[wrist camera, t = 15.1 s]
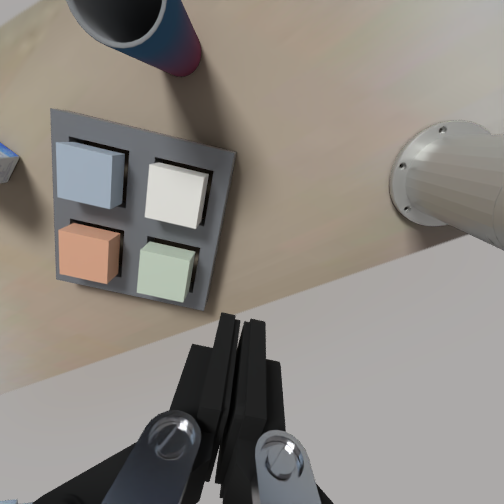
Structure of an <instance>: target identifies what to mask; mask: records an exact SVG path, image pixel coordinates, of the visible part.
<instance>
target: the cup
mask: <svg viewBox="0 0 504 504" xmlns="http://www.w3.org/2000/svg"><path fill="white" fill-rule="evenodd" d="M66 1H67V4H68V6H69V8H70V11H71V12H72V14H73V16H74V17H75V19H76V20H77V22H78V23H79V24H80V26H81V27H82V28H83V29H84V30H85V31H86V32H87V33H88V34H89V35H90V36H91V37H93V38H94V39H95V40H97V41H99V42H100V43H102V44H104V45H106V46H108V47H111V48H113V49H115V50H117V51H120V52H122V53H124V54H127V55H129V56H131V57H133V58H136V59H138V60H140V61H142V62H145V63H147V64H149V65H152V66H154V67H156V68H158V69H161V70H163V71H165V72H167V73H170V74H172V75H175V76H180V77H182V76H187V75H189V74H191V73H192V72H193V71H194V70H195V69H196V68H197V66H198V64H199V62H200V58H201V46H200V42H199V39H198V37H197V35H196V33H195V30H194V28H193V26H192V24H191V22H190V19H189V17H188V15H187V13H186V10H185V8H184V6H183V4H182V2H181V0H66Z"/></svg>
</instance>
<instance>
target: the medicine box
mask: <svg viewBox="0 0 504 504" xmlns="http://www.w3.org/2000/svg"><path fill="white" fill-rule="evenodd" d="M18 160H19V156H18V155H17V154H15V153H14V152H13V151H11V150H10V149H8V148H7V147H6V146H4V145H3V144H2V143H0V184H1V183H6V182H8V180H9V178H10V176H11V174H12V172H13V170H14V168H15V166H16V164H17V162H18Z"/></svg>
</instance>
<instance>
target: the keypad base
mask: <svg viewBox="0 0 504 504" xmlns="http://www.w3.org/2000/svg"><path fill="white" fill-rule="evenodd" d="M50 112H51V141H52V170H53V199H54V228H55V257H56V279H57V280H62V281H67V282H71V283H76V284H81V285H85V286H90V287H95V288H99V289H104V290H109V291H113V292H118V293H123V294H127V295H132V296H137V297H141V298H146V299H151V300H155V301H160V302H165V303H169V304H174V305H179V306H183V307H188V308H193V309H197V310H202V311H204V309H205V306H206V303H207V300H208V295H209V290H210V285H211V280H212V275H213V270H214V265H215V260H216V255H217V249H218V244H219V239H220V234H221V229H222V224H223V219H224V214H225V209H226V204H227V199H228V194H229V189H230V184H231V179H232V174H233V169H234V164H235V159H236V154H237V152H235V151H231V150H227V149H223V148H218V147H214V146H210V145H206V144H202V143H198V142H194V141H190V140H186V139H182V138H178V137H173V136H169V135H165V134H161V133H157V132H153V131H149V130H145V129H141V128H137V127H133V126H129V125H124V124H120V123H116V122H112V121H108V120H104V119H100V118H96V117H92V116H88V115H84V114H79V113H75V112H71V111H67V110H60V109H52V108H50ZM84 140H87V141H91V142H95V143H99V144H103V145H108V146H112V147H116V148H120V149H124V150H128V151H129V165H128V181H127V197H126V201H124V200H122V204H120V205H118V206H116V207H114V208H112V209H107V208H102V207H98V206H94V205H89V204H85V203H81V202H76V201H72V200H67V199H63V198H59V197H57V166H56V142H76V143H80V144H84ZM163 159H166V160H170V161H174V162H178V163H183V164H187V165H191V166H195V167H199V168H203V169H208V170H212V171H214V173H213V178H212V184H211V190H210V196H209V201H208V207H207V213H206V219H202V218H201V222H200V224H199V225H198V226H197V228H196V229H194V228H190V227H185V226H181V225H177V224H172V223H168V222H164V221H159V220H155V219H150V218H146V217H145V208H146V197H147V186H148V175H149V164H154V163H158V162H160V163H163ZM83 221H84V222H88V223H93V224H97V225H101V226H106V227H110V228H115V229H119V230H124V244H123V260H122V266H118V274H117V275H116V276H115V277H114V278H113V279H112V280H111V281H110V282H109V283H108V284H104V283H99V282H95V281H90V280H86V279H81V278H76V277H72V276H67V275H62V274H60V269H59V235H58V230H59V229H61V228H64V227H66V226H68V225H70V224H73V223H76V224H81V225H83ZM154 238H159V239H164V240H168V241H172V242H177V243H181V244H186V245H190V246H195V247H199V248H200V253H199V259H198V265H197V271H196V276H195V282H190V287H189V292H188V294H187V296H186V298H185V300H184V302H178V301H173V300H169V299H164V298H159V297H155V296H150V295H146V294H141V293H137V283H138V271H139V260H140V250H141V249H142V248H143V247H144V246H145V245H146V244H147V243H148V242H154Z"/></svg>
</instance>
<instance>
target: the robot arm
mask: <svg viewBox="0 0 504 504" xmlns="http://www.w3.org/2000/svg"><path fill="white" fill-rule="evenodd" d="M439 129H440V132H439ZM400 164H401V167H400V168H399V165H400ZM389 188H390V195H391V198H392V201H393V204H394V205H395V207H396V208H397V210H398V211H399V212H400V213H401V214H402V215H403V216H404V217H406V218H407V219H409V220H410V221H413V222H415V223H417V224H420V225H424V226H435V227H436V226H444V225H448V224H449V225H451V226H453V227H455V228H457V229H459V230H461V231H463V232H466V233H468V234H470V235H472V236H474V237H476V238H479V239H481V240H483V241H485V242H487V243H489V244H491V245H493V246H495V247H497V248H500V249H502V250H504V134H491V133H490V132H489V131H488V130H487V129H485V128H484V127H482V126H481V125H479V124H476V123H474V122H470V121H463V120H455V121H446V122H440V123H438V124H435V125H432V126H430V127H428V128H426V129H424V130H422V131H421V132H419V133H418V134H417V135H415V136H414V137H413V138H412V139H410V141H409V142H408V143H407V144H406V145H405V146H404V147H403V148H402V150H401V151H400V153H399V154H398V156H397V158H396V160H395V162H394V164H393V167H392V171H391V174H390V183H389ZM405 207H406V209H404V208H405ZM239 327H240V320H236V319H235V315H232V314H227V313H222V312H221V316H220V321H219V325H218V329H217V333H216V337H215V342H214V346H213V348H210V347H205V346H200V345H195V344H192V346H191V349H190V352H189V354H188V358H187V360H186V363H185V366H184V369H183V372H182V375H181V378H180V381H179V384H178V386H177V389H176V393H175V395H174V398H173V401H172V404H171V407H170V410H169V411H166V412H163V413H161V414H158V415H157V416H156V417H154V418H153V419H151V421H150V422H149V423H148V425H147V426H146V427H145V429H144V431H143V432H142V434H141V436H140V438H139V439H138V441H137V442H136V443H134V444H132V445H131V446H129V447H127V448H125V449H124V450H122V451H120V452H119V453H117V454H115V455H113V456H111V457H110V458H108V459H106V460H104V461H103V462H101V463H99V464H98V465H96V466H94V467H92V468H90V469H89V470H87V471H85V472H84V473H82V474H80V475H78V476H76V477H75V478H73V479H71V480H69V481H68V482H66V483H64V484H62V485H61V486H59V487H57V488H56V489H54V490H52V491H50V492H48V493H47V494H45V495H43V496H42V497H40V498H39V499H38V500H36V501H35V502H32V503H22V504H196V503H197V502H198V501H199V500H200V497H201V493H202V489H203V485H204V482H205V481H206V482H209V481H210V478H211V474H212V471H213V467H214V463H215V460H216V456H217V453H218V449H219V456H218V462H217V469H216V477H215V483H218V484H221V490H220V498H223V504H333V502H332V501H331V500H330V499H329V498H328V497H327V496H326V494H325V493H324V492H323V491H322V490H321V489H320V487H319V486H318V485H317V484H316V483H315V479H314V475H313V472H312V469H311V464H310V461H309V458H308V455H307V453H306V450H305V448H304V447H303V446H302V444H301V443H300V441H298V440H297V439H296V438H295V437H294V436H293V435H291V434H289V433H287V432H286V430H285V417H284V405H283V391H282V378H281V366H280V362H277V361H273V360H268V359H266V338H265V337H266V335H265V334H266V332H265V322H264V321H259V320H255V319H250V322H244V325H243V329H242V332H241V336H240V340H239V344H238V347H237V343H238V334H239ZM219 446H220V448H219ZM0 504H18V500H5V501H0Z"/></svg>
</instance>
